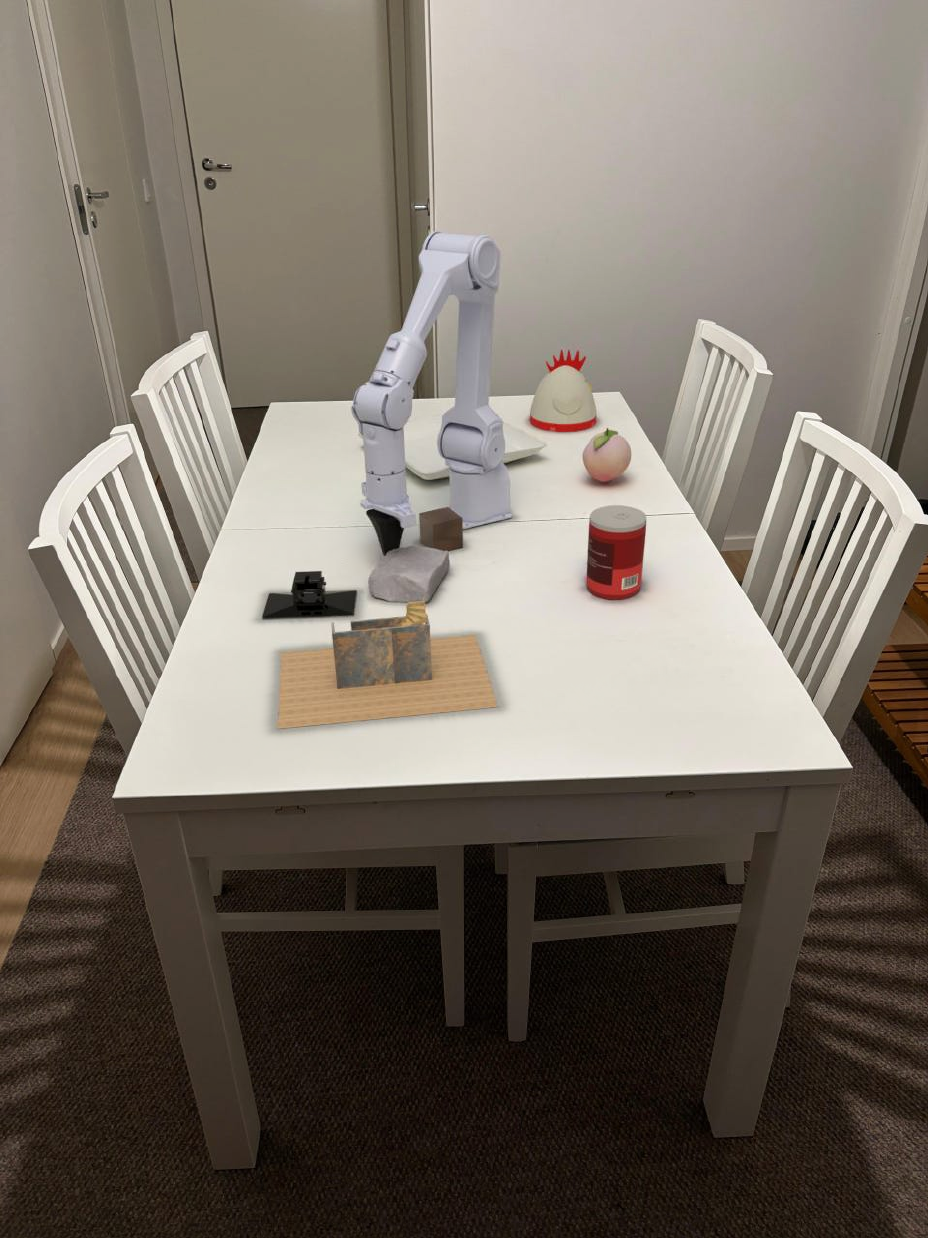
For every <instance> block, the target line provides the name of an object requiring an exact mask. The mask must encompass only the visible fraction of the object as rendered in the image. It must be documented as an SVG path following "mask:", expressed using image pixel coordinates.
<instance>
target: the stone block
mask: <svg viewBox="0 0 928 1238" xmlns="http://www.w3.org/2000/svg"><path fill="white" fill-rule="evenodd" d="M449 568H450V553H449V551H442V550H438V549H434V548H429V547H425V546H422V545H408V546H402V547H401V546H400V548H398V549H394V550H391V551H389V552H387V554H386V556H383V557H382V558H381V559H379V561H378V562H377V564H376V565H375V567H374V568H373V569H372V571H371V572H370V574H369V577H368V580H367V581H368V583H367V584H368V588H369V590H370V593H371V594H372V596H373V597H374V598H377V599H381V600H385V601H387V602H389V603H390V602H392V603H395V602H396V603H397V602H398V603H399V602H400V603H408V602H418V601H423V598H424V603H425V604H426V603H428V602H429V601H430V600H431V598H432V597H433V595H434V594H435V592H436V590H437V589H438V587H439V585H440V584H441V582H442V581H443V579H444V578H445V576H446V574H447V573H448V571H449ZM407 599H408V601H407Z"/></svg>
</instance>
